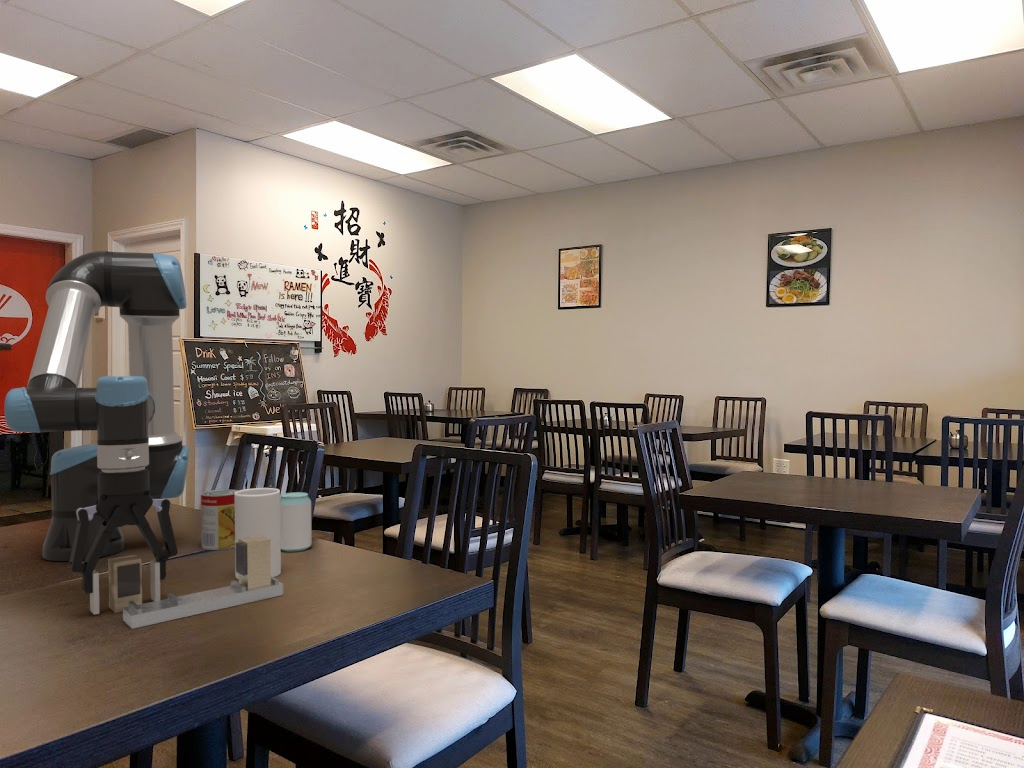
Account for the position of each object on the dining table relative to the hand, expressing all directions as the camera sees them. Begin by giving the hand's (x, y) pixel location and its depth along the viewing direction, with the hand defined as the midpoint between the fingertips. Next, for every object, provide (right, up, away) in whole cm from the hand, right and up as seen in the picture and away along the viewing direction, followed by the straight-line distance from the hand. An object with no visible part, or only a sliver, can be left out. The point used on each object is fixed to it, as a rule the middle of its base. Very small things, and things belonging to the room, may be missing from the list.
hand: (125, 605), depth 118 cm
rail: (+14, 0, 0) cm, 14 cm away
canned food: (-1, 0, +42) cm, 42 cm away
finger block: (0, 0, 0) cm, 0 cm away
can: (+16, 0, +39) cm, 42 cm away
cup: (+15, 0, +19) cm, 24 cm away
